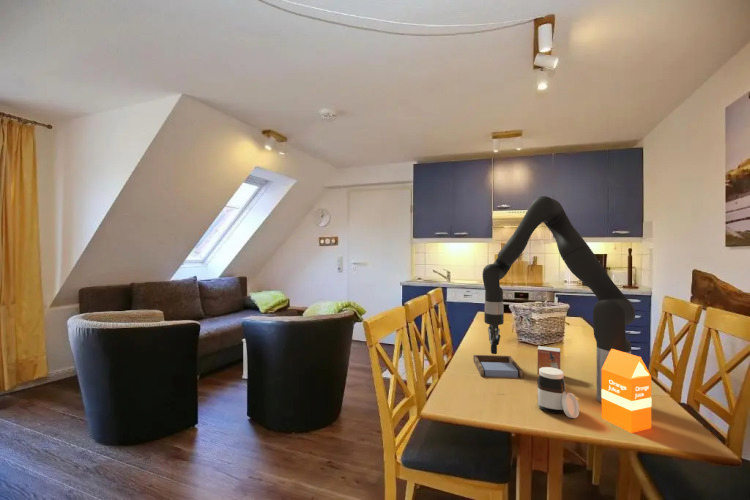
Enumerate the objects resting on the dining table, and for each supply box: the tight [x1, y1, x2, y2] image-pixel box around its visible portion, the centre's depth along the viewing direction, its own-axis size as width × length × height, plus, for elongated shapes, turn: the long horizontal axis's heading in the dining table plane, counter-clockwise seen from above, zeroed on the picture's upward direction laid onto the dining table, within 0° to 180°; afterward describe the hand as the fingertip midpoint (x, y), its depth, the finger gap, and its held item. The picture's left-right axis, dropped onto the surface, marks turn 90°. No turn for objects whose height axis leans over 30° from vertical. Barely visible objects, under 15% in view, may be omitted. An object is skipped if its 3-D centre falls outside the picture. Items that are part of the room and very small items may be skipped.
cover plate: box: [481, 362, 518, 378], centre depth 138 cm, size 9×12×2 cm
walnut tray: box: [473, 354, 524, 379], centre depth 142 cm, size 18×15×4 cm
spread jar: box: [537, 367, 580, 419], centre depth 108 cm, size 12×11×12 cm
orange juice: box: [601, 349, 653, 434], centre depth 100 cm, size 8×9×20 cm
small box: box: [536, 345, 561, 375], centre depth 137 cm, size 8×6×10 cm
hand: (493, 353), depth 146 cm, fingers closed
